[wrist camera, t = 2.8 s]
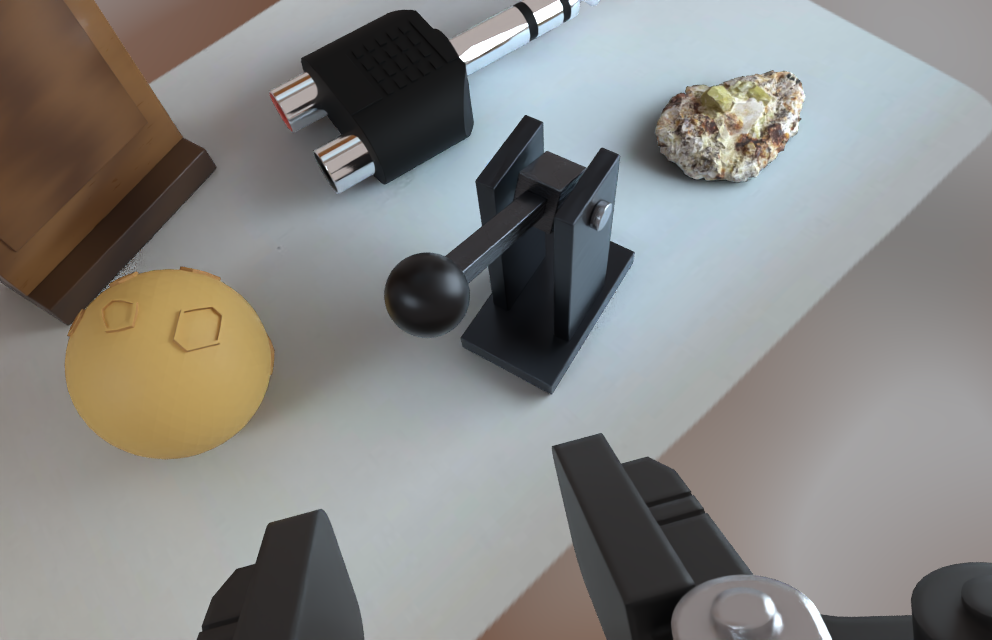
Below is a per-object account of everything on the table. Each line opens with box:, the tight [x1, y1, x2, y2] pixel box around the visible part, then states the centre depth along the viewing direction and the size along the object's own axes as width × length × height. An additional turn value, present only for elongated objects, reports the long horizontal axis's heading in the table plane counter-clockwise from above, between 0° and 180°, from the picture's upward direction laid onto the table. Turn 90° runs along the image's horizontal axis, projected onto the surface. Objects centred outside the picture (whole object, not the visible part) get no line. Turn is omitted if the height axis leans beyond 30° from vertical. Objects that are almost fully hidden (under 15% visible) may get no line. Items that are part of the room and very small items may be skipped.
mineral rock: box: [655, 70, 805, 182], centre depth 49 cm, size 11×4×8 cm
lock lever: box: [384, 151, 587, 338], centre depth 32 cm, size 13×3×3 cm, turn 149°
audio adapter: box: [269, 0, 600, 194], centre depth 51 cm, size 11×5×25 cm
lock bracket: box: [461, 115, 635, 394], centre depth 39 cm, size 10×6×13 cm, turn 148°
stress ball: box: [65, 267, 274, 459], centre depth 39 cm, size 10×10×10 cm
